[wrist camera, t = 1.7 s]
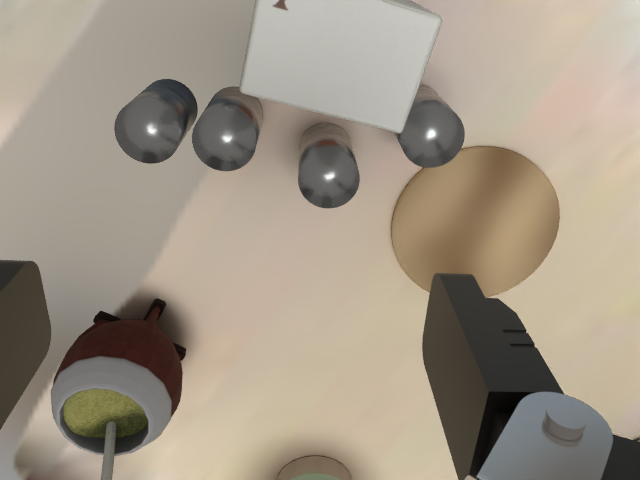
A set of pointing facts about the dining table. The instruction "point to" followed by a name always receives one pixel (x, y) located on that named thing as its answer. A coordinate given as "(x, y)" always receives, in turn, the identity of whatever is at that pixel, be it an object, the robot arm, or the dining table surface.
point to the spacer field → (244, 126)
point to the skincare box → (340, 57)
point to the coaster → (476, 220)
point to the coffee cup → (314, 469)
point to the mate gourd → (118, 386)
